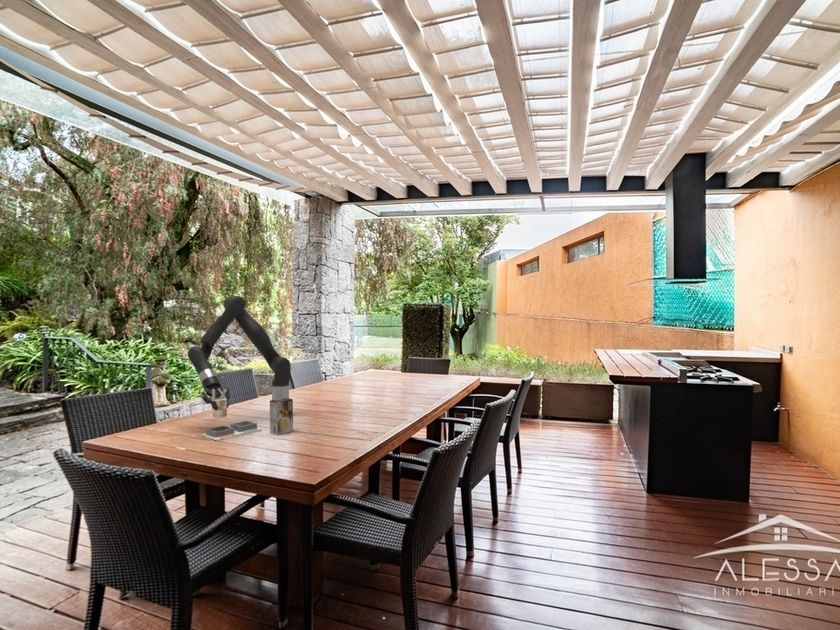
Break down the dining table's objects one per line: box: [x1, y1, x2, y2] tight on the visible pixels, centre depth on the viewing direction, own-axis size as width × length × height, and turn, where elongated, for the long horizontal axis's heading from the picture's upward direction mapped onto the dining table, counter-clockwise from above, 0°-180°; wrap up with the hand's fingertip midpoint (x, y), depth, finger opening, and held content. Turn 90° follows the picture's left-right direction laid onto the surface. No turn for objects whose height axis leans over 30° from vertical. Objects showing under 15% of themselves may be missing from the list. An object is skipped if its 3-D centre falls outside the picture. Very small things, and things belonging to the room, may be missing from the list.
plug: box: [212, 398, 228, 419], centre depth 213 cm, size 4×4×8 cm
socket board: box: [201, 420, 262, 441], centre depth 218 cm, size 23×14×4 cm, turn 142°
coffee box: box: [269, 397, 294, 436], centre depth 220 cm, size 9×6×16 cm
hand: (222, 408), depth 212 cm, fingers closed on plug, 4 cm apart
